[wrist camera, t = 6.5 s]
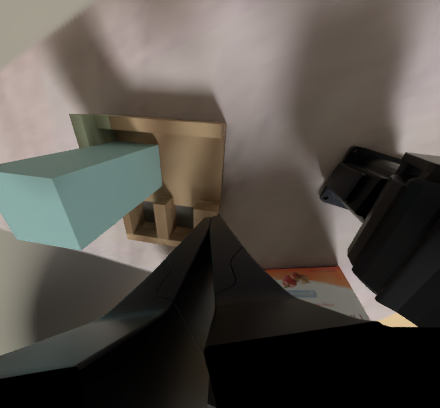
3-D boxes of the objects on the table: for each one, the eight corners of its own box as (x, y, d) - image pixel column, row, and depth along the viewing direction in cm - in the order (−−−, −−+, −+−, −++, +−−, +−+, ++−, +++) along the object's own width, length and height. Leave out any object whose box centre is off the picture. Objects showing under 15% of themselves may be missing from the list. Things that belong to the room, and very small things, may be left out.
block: (158, 144, 20) (51, 178, 9) (162, 185, 22) (81, 250, 12) (117, 141, 20) (-27, 168, 10) (125, 181, 23) (16, 239, 12)
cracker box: (339, 262, 25) (595, 693, 6) (337, 291, 27) (517, 661, 9) (241, 267, 28) (222, 556, 10) (247, 292, 31) (241, 560, 12)
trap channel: (226, 122, 19) (218, 125, 14) (218, 236, 26) (211, 261, 22) (108, 114, 20) (69, 114, 16) (131, 223, 28) (108, 244, 23)
